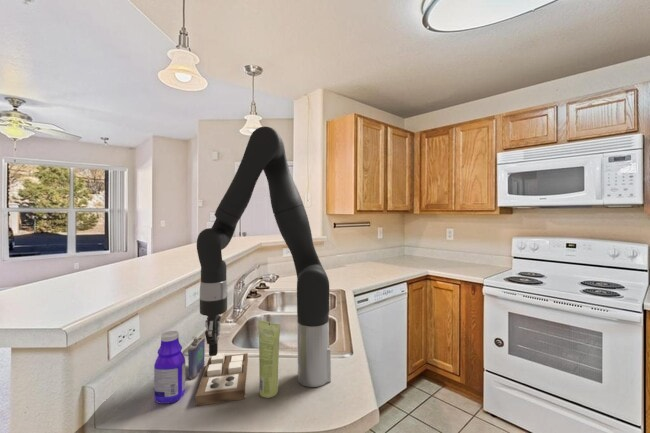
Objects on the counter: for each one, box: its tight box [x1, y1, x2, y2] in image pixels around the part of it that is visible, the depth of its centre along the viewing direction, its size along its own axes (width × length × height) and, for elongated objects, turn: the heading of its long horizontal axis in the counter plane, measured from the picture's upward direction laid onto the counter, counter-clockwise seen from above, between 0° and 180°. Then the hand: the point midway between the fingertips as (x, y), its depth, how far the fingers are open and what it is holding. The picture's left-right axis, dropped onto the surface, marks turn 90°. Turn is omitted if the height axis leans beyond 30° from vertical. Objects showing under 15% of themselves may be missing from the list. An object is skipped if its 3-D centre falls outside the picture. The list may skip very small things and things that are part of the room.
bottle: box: [153, 330, 186, 404], centre depth 77 cm, size 7×6×17 cm
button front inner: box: [228, 361, 242, 374], centre depth 86 cm, size 4×4×2 cm
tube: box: [257, 319, 281, 399], centre depth 79 cm, size 6×5×20 cm
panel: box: [195, 352, 249, 407], centre depth 85 cm, size 12×20×3 cm, turn 13°
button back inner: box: [231, 354, 243, 362], centre depth 92 cm, size 4×4×2 cm
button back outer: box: [211, 352, 226, 364], centre depth 91 cm, size 4×4×2 cm
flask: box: [187, 336, 206, 380], centre depth 90 cm, size 9×3×11 cm, turn 4°
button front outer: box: [207, 363, 222, 377], centre depth 85 cm, size 4×4×2 cm
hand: (213, 354), depth 84 cm, fingers closed
